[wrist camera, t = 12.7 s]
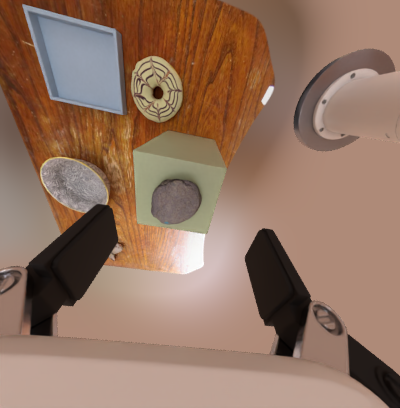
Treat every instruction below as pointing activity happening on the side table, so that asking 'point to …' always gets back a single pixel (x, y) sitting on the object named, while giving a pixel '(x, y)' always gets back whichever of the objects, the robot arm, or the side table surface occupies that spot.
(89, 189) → the bowl
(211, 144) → the stand
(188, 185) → the stone
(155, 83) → the decorated donut
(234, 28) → the side table surface
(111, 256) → the butterfly
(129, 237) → the side table surface
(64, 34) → the tray
